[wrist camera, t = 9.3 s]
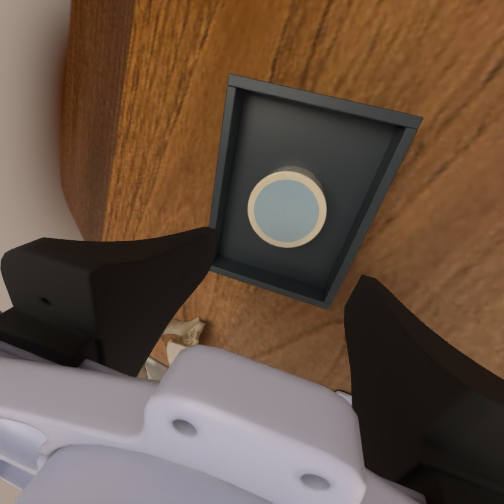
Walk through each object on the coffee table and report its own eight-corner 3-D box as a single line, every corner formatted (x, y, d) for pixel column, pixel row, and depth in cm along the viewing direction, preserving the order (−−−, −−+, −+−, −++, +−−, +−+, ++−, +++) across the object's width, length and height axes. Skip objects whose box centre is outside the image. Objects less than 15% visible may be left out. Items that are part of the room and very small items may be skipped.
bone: (238, 351, 26) (164, 445, 21) (218, 346, 32) (156, 420, 27) (184, 293, 25) (93, 377, 20) (173, 299, 31) (100, 366, 26)
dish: (312, 242, 20) (311, 257, 17) (249, 223, 20) (240, 236, 18) (336, 176, 17) (339, 184, 15) (264, 157, 18) (256, 161, 15)
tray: (327, 292, 22) (328, 310, 20) (213, 256, 23) (202, 268, 21) (409, 119, 15) (423, 117, 13) (240, 80, 16) (228, 73, 14)
